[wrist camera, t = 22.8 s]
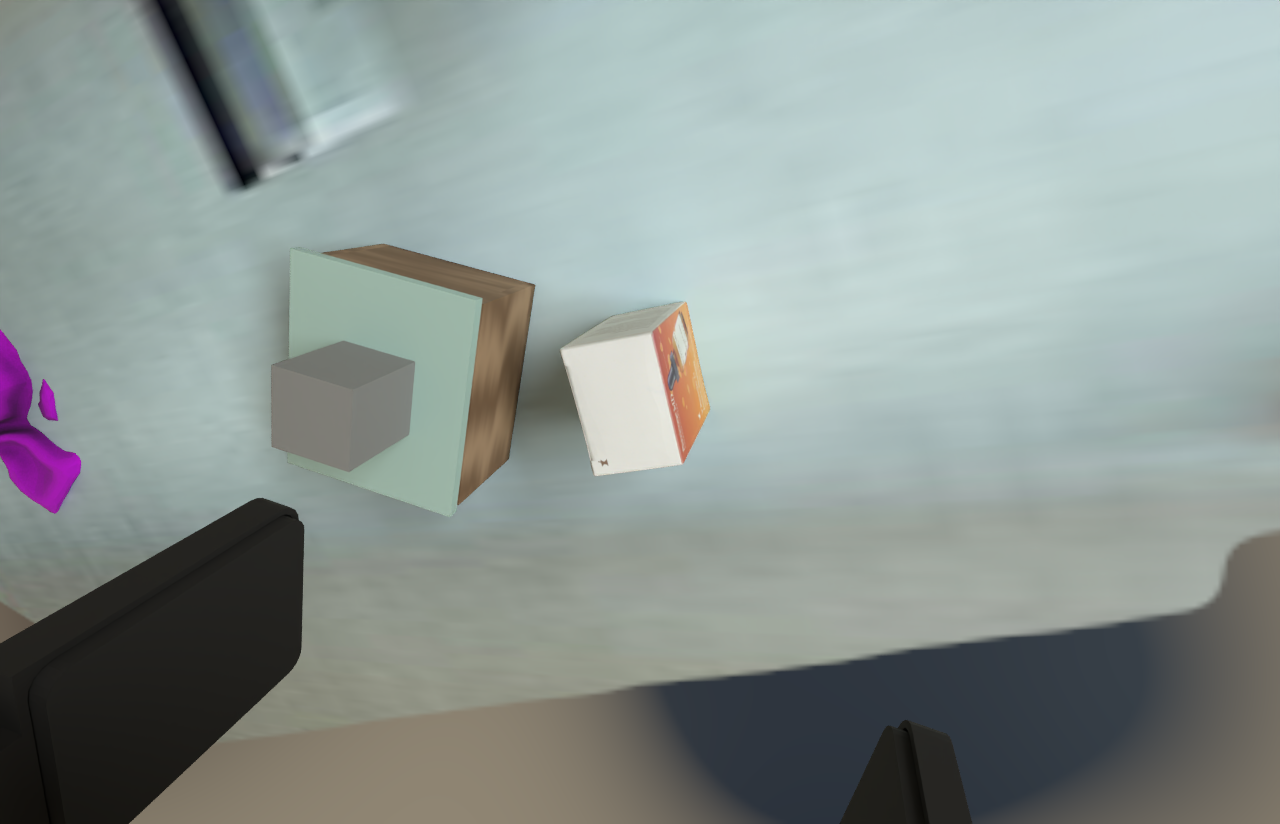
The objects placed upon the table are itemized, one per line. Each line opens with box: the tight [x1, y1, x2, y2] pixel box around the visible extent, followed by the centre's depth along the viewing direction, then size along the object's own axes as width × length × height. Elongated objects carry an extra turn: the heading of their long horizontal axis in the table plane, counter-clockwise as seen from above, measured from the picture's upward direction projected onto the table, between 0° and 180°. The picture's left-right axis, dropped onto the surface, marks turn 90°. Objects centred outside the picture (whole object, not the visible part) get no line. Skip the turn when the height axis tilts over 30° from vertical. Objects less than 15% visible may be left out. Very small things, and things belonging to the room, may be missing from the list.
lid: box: [288, 247, 483, 517], centre depth 42 cm, size 15×12×1 cm
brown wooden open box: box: [322, 244, 535, 505], centre depth 47 cm, size 14×12×8 cm
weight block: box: [271, 341, 415, 472], centre depth 39 cm, size 5×5×6 cm
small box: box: [560, 302, 710, 476], centre depth 42 cm, size 8×6×10 cm
